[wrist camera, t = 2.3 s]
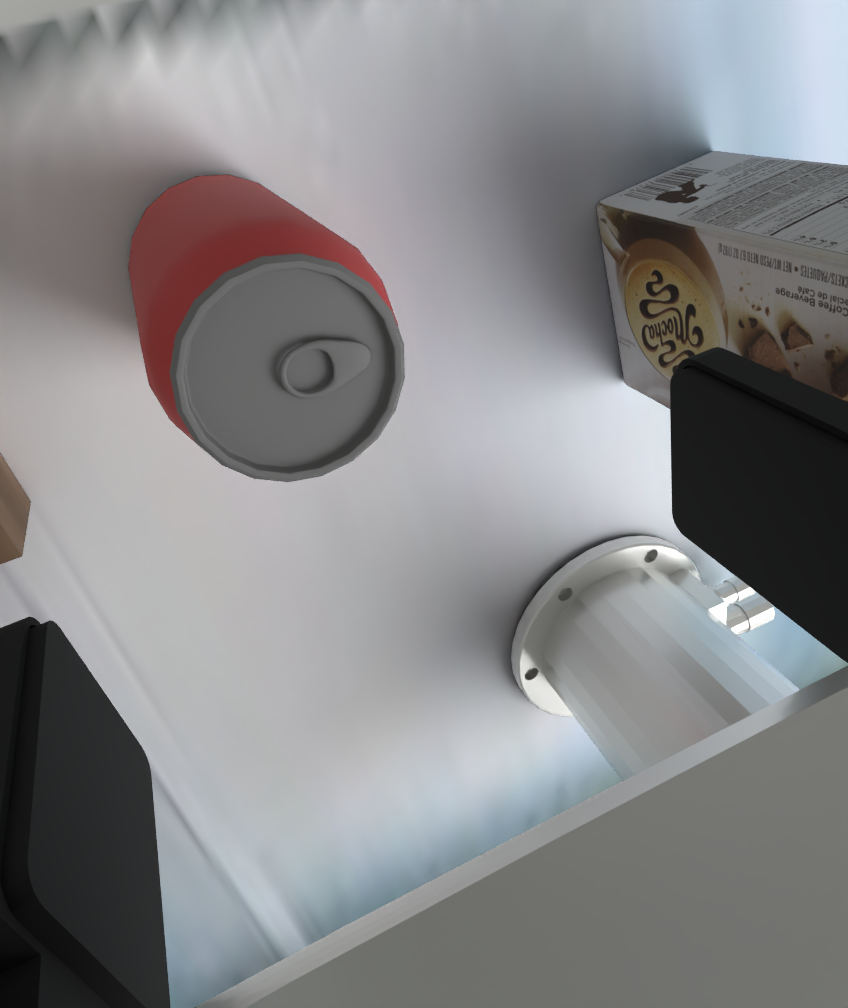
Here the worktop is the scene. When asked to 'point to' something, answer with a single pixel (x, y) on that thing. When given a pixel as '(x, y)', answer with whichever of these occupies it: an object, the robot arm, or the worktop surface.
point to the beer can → (262, 330)
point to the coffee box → (731, 269)
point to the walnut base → (12, 514)
